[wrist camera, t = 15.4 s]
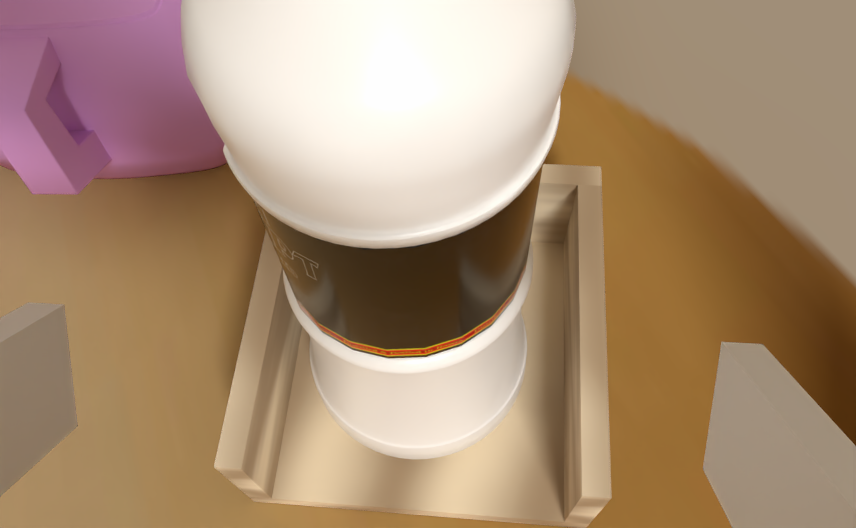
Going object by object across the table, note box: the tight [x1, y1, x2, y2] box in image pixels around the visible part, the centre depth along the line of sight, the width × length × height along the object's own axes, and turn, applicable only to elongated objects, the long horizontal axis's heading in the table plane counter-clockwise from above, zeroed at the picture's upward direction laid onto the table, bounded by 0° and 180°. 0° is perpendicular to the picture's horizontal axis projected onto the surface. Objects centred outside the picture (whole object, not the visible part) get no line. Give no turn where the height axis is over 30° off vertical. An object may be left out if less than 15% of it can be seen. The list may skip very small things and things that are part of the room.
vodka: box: [181, 0, 576, 459], centre depth 21 cm, size 9×9×30 cm
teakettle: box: [0, 0, 227, 194], centre depth 38 cm, size 17×17×12 cm
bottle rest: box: [214, 164, 611, 528], centre depth 32 cm, size 14×14×6 cm
